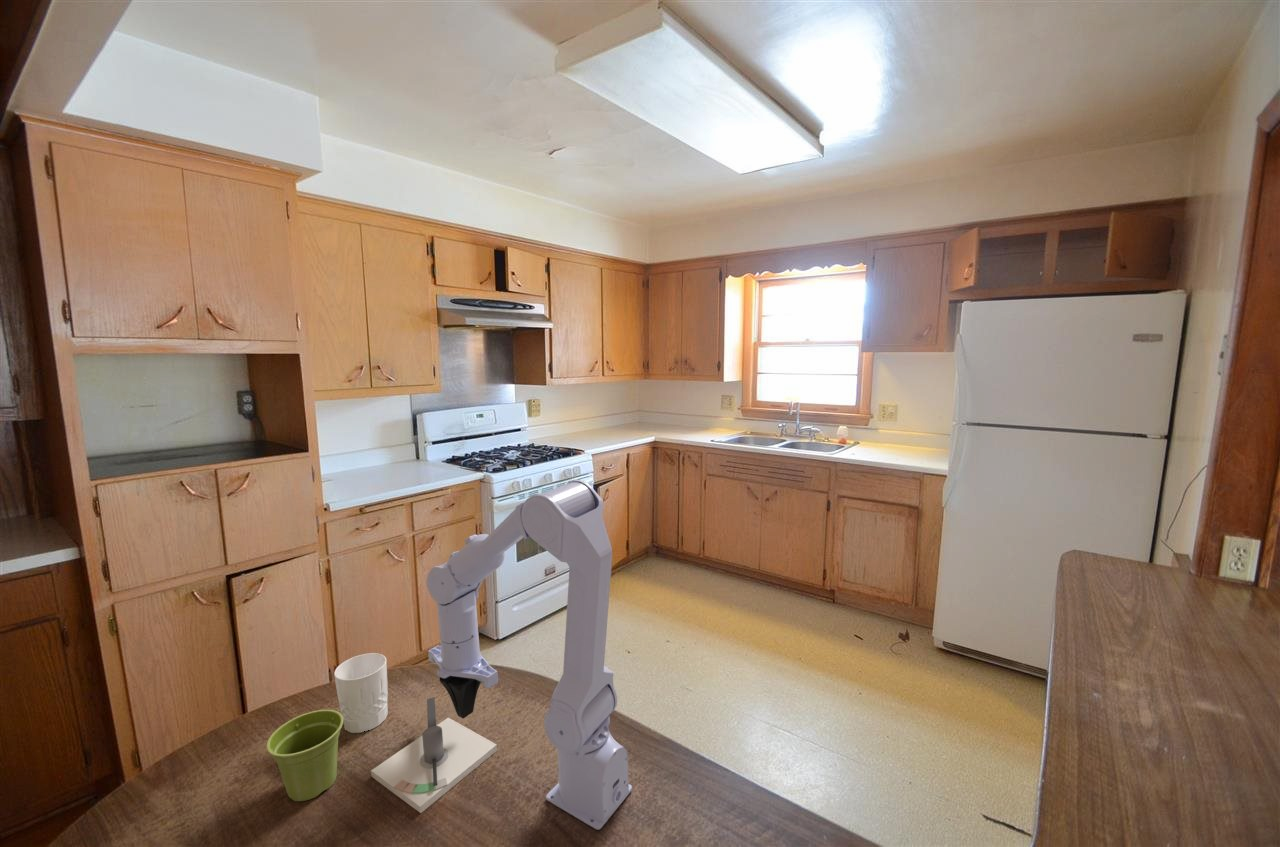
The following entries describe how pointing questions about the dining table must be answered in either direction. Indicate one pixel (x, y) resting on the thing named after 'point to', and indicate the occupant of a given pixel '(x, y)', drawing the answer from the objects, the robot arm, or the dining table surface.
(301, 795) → the plant pot
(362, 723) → the white cup
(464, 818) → the dining table surface
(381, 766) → the board
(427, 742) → the grey dial pointer
